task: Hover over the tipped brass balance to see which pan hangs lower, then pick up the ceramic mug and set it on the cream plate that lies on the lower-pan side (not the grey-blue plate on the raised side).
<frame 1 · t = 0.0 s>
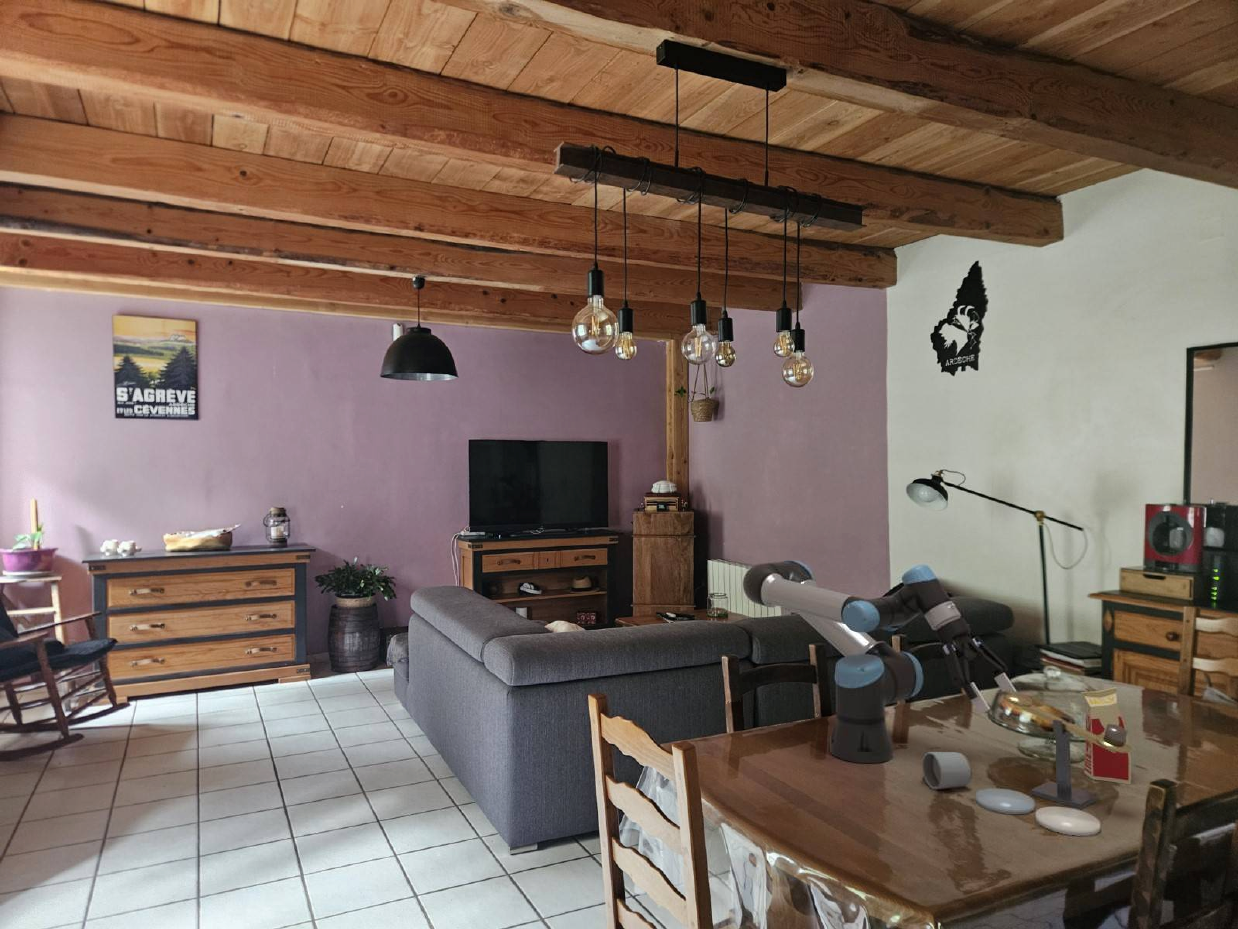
hand: (1000, 706, 184), 15 cm above the table, tool tilted 35°, fingers open, 13 cm apart
balance beam: (1064, 715, 169), point 17 cm above the table, hinge at 15.0°
plate near greyblue: (1004, 804, 166), on the table
ceramic mug: (943, 785, 178), on the table
balance stand: (1064, 797, 169), on the table
milk carton: (1106, 776, 181), on the table
plate far cream: (1067, 823, 156), on the table
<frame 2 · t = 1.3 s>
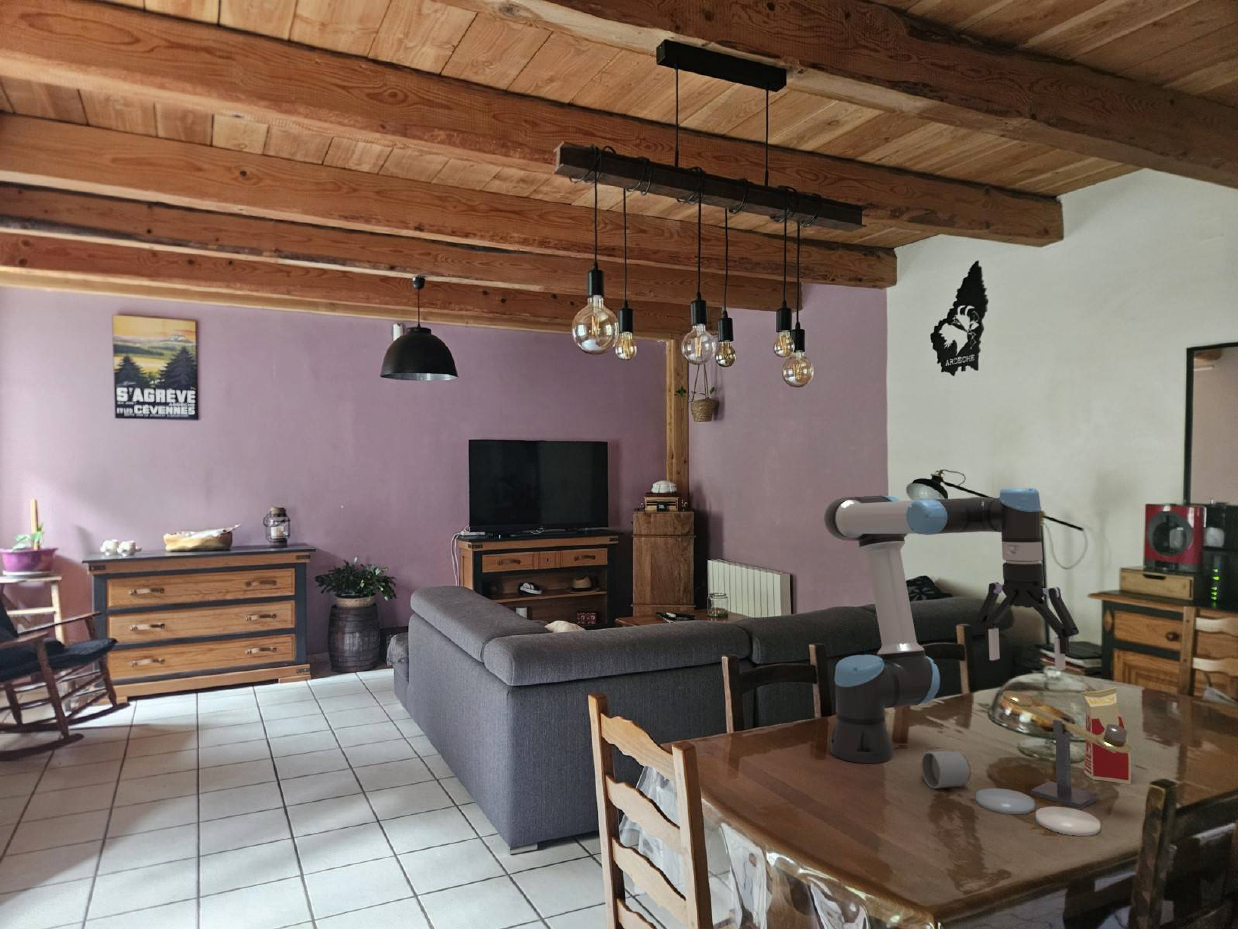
hand: (1026, 664, 166), 29 cm above the table, tool pointing down, fingers open, 13 cm apart
nothing on the table moved.
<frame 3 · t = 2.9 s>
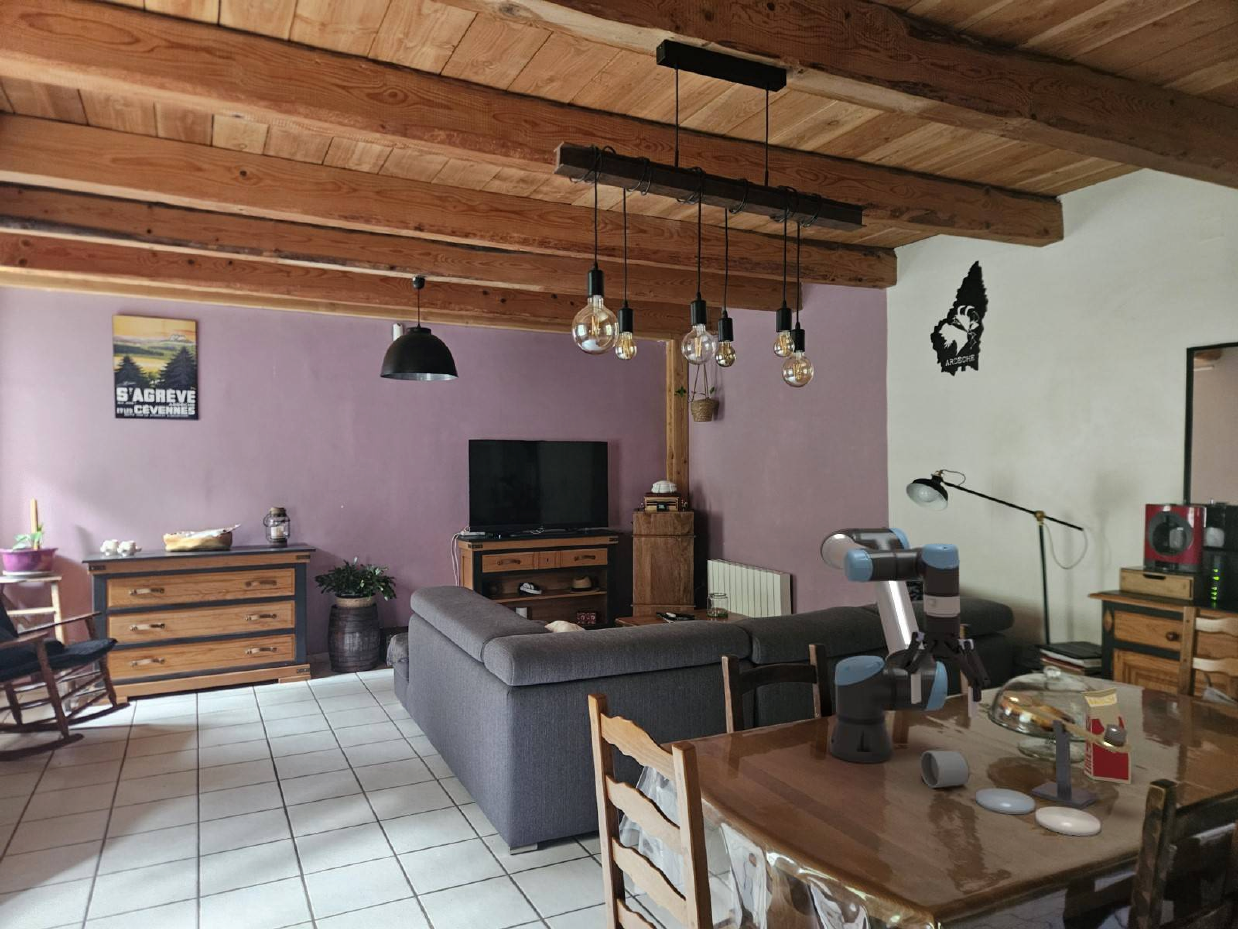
hand: (944, 709, 178), 17 cm above the table, tool pointing down, fingers open, 13 cm apart
nothing on the table moved.
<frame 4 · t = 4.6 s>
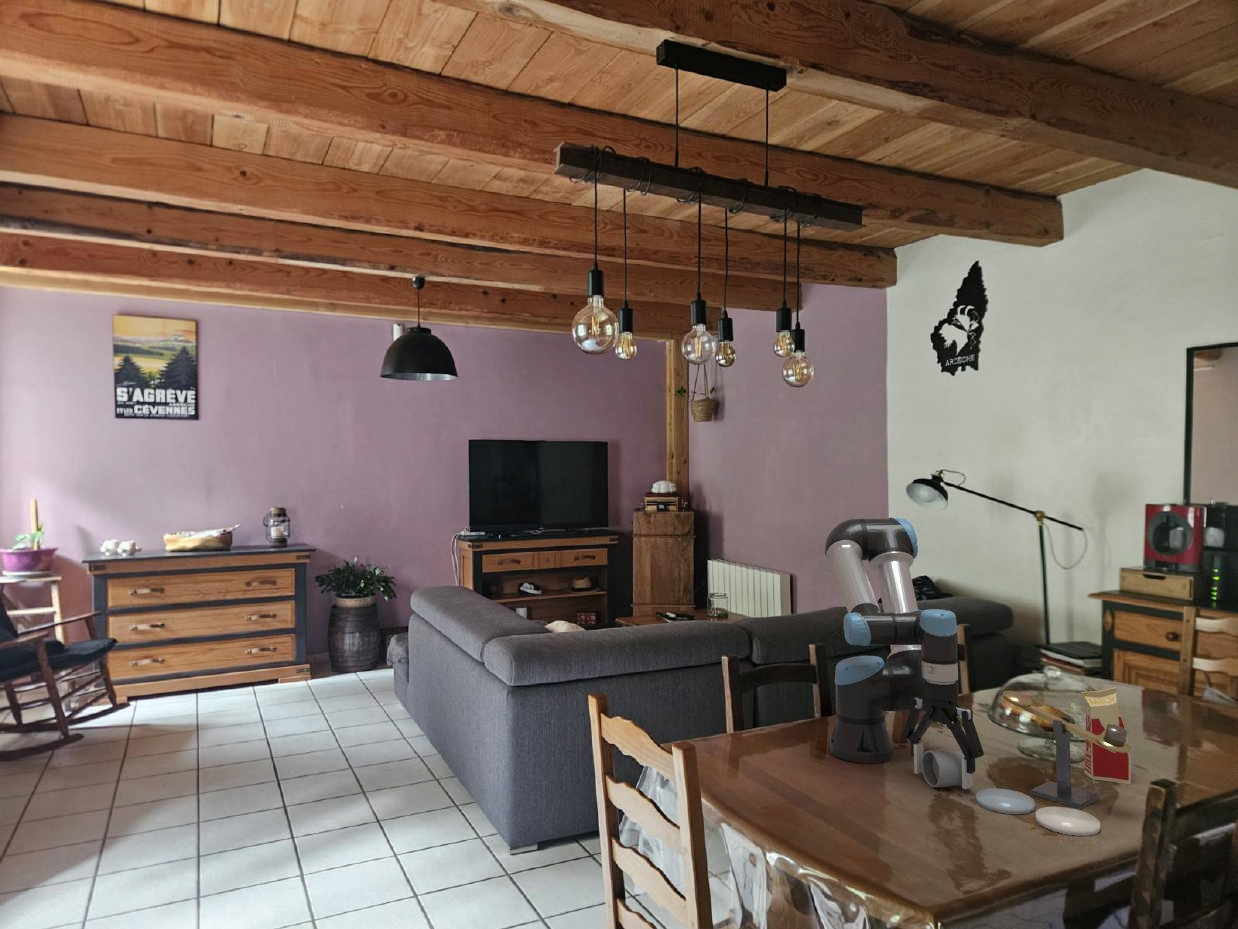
hand: (942, 779, 178), 1 cm above the table, tool pointing down, fingers closed on ceramic mug, 11 cm apart
ceramic mug: (942, 784, 178), on the table, touching gripper
everything else where it was.
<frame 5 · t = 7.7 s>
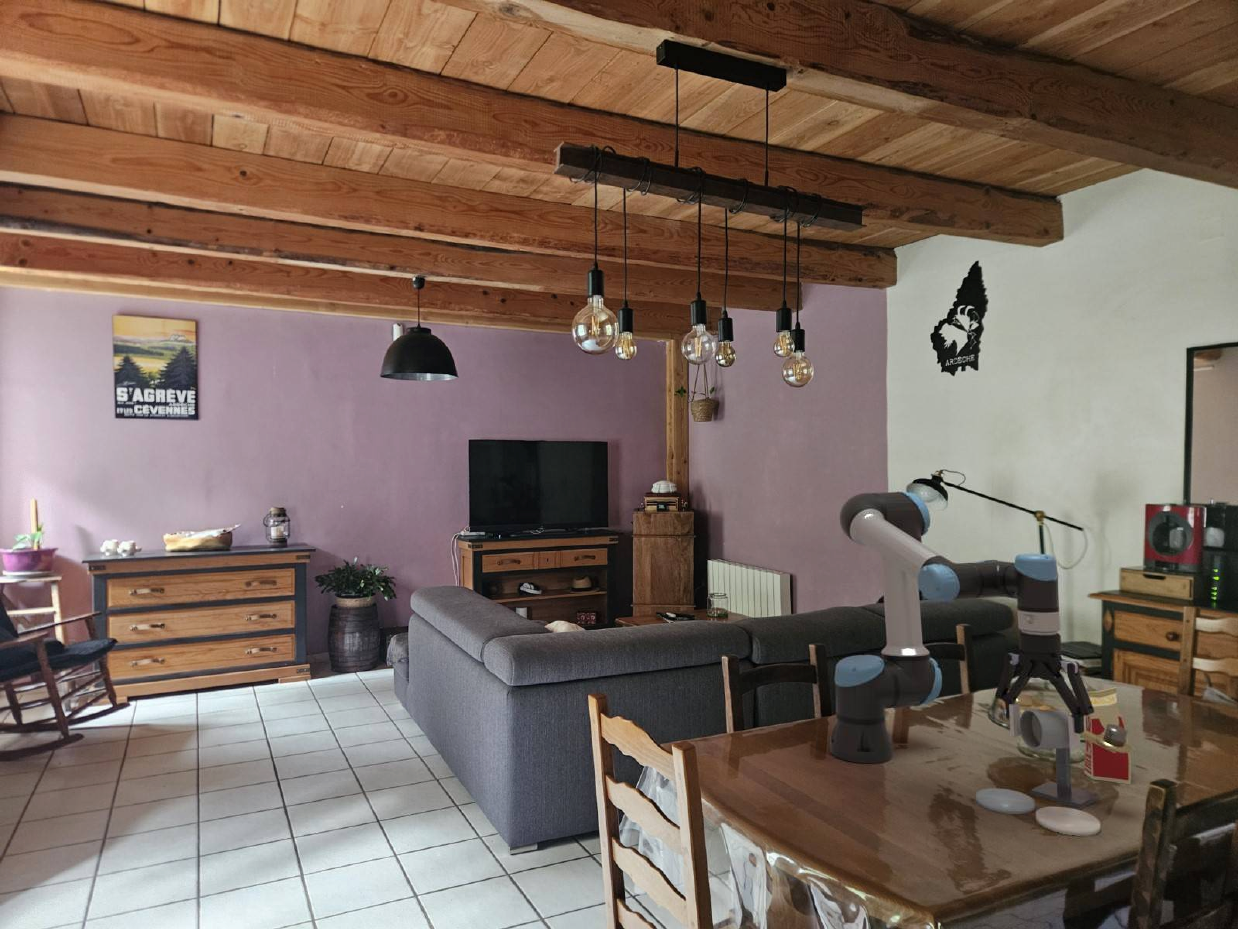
hand: (1044, 742, 159), 15 cm above the table, tool pointing down, fingers closed on ceramic mug, 11 cm apart
ceramic mug: (1043, 747, 160), point 14 cm above the table, touching gripper
everything else where it was.
when the fingers open (4 cm above the table, at t = 10.6 s): ceramic mug drops 1 cm, resting on plate far cream.
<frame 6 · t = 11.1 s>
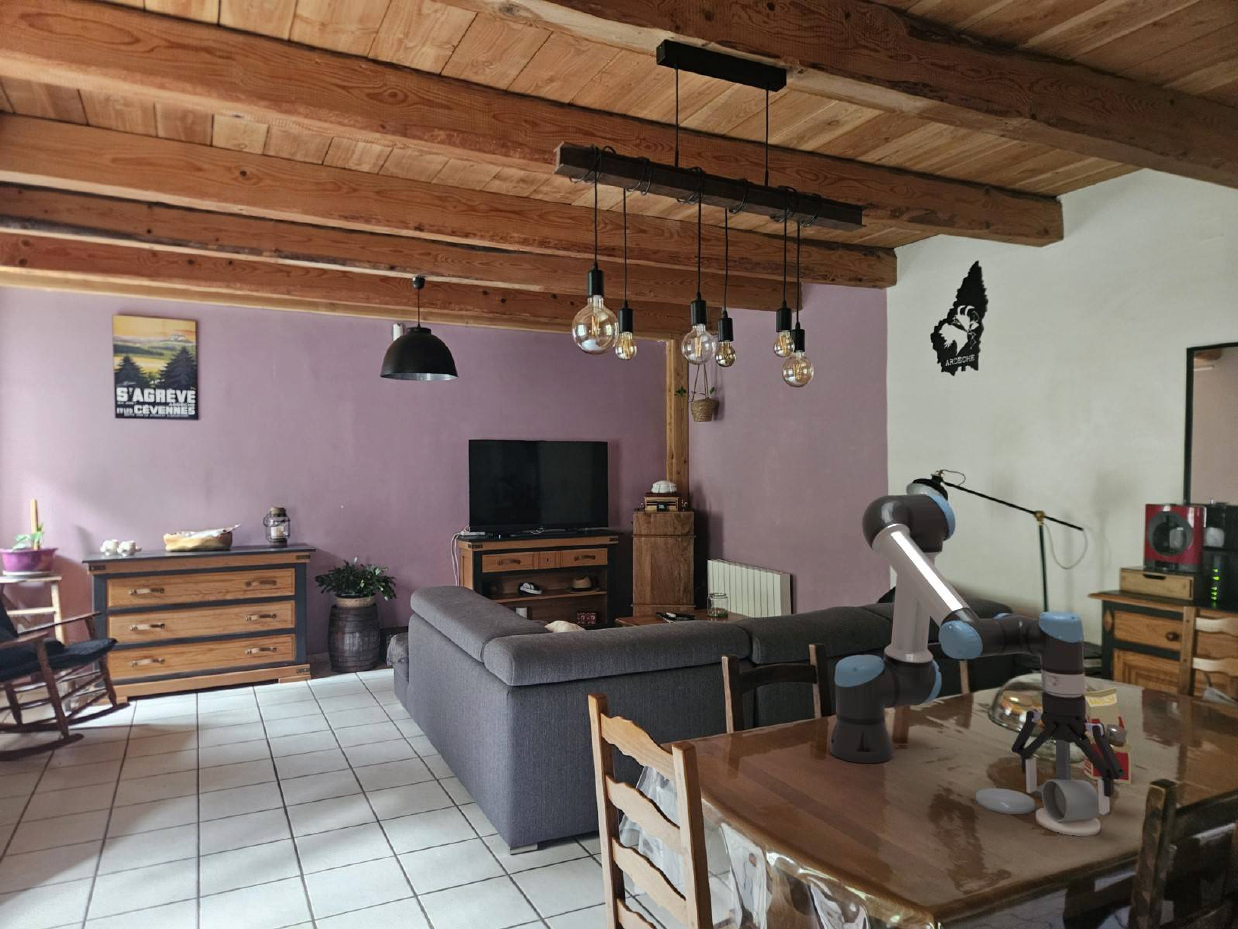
hand: (1066, 801, 156), 4 cm above the table, tool pointing down, fingers open, 13 cm apart
ceramic mug: (1066, 817, 157), point 1 cm above the table, touching plate far cream
everything else where it was.
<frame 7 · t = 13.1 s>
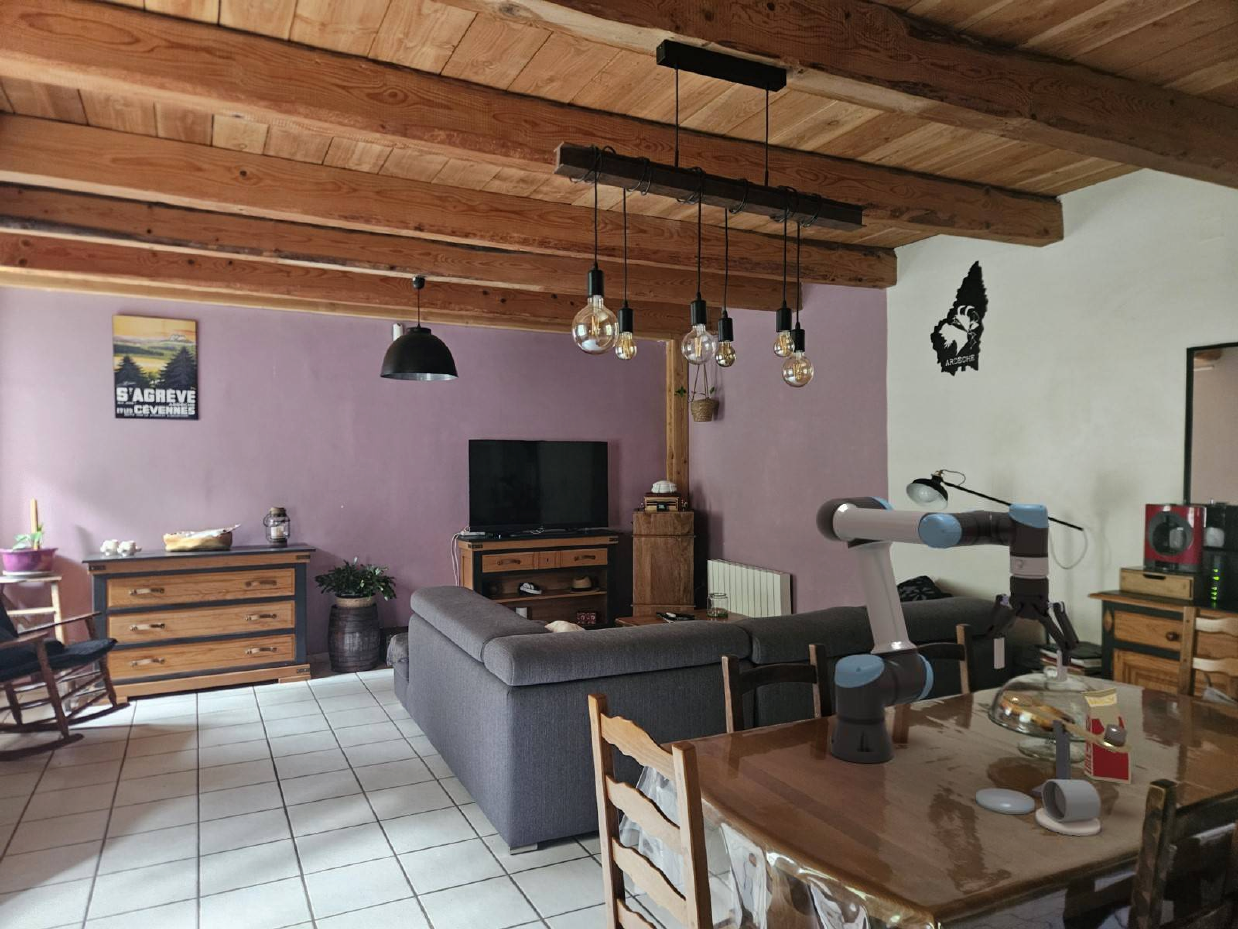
hand: (1029, 674, 172), 25 cm above the table, tool pointing down, fingers open, 13 cm apart
nothing on the table moved.
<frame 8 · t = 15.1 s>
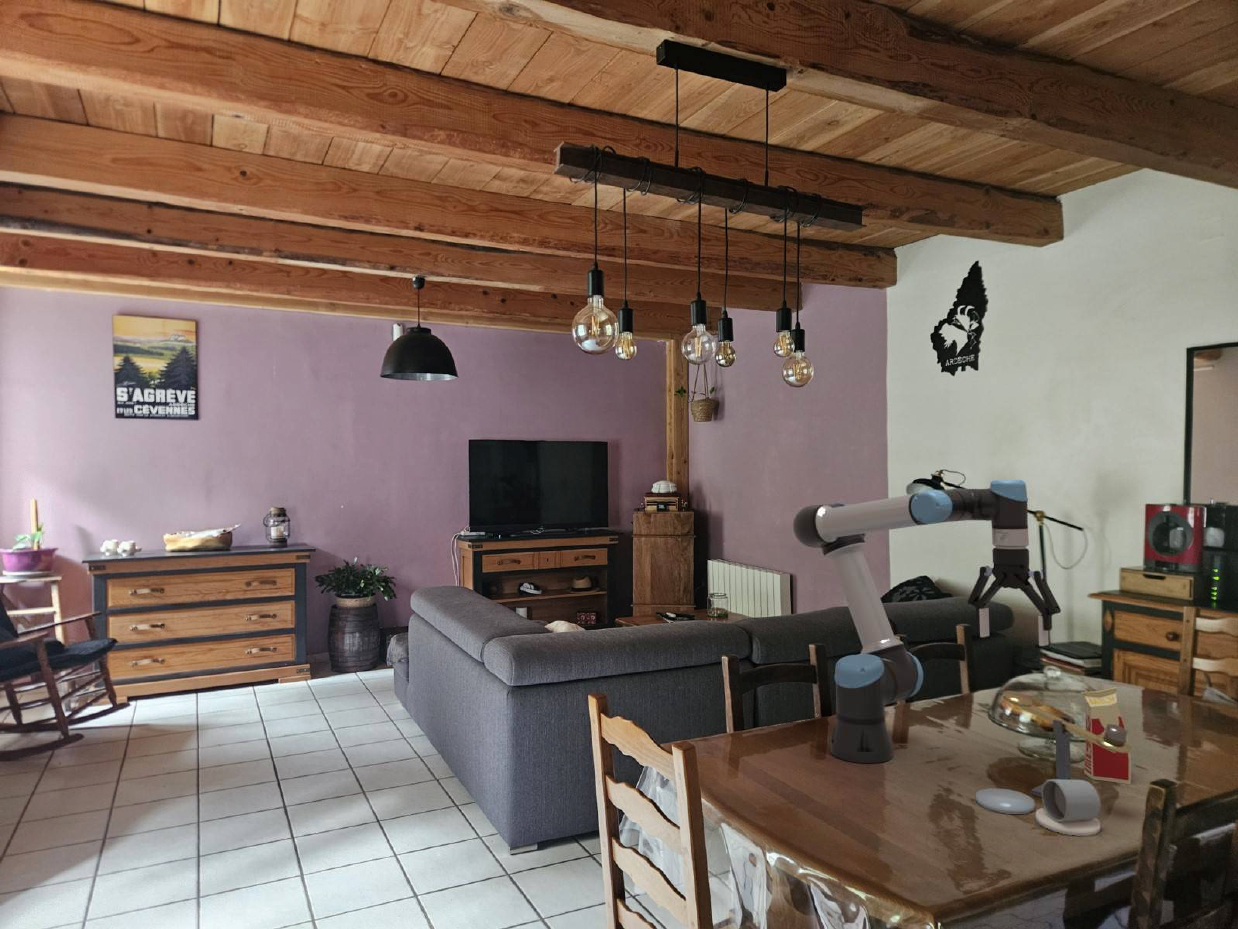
hand: (1013, 640, 182), 31 cm above the table, tool pointing down, fingers open, 13 cm apart
nothing on the table moved.
at the end: ceramic mug 0.8 cm from the plate far cream (horizontally); ceramic mug tilted 2°; the gripper is holding nothing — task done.
